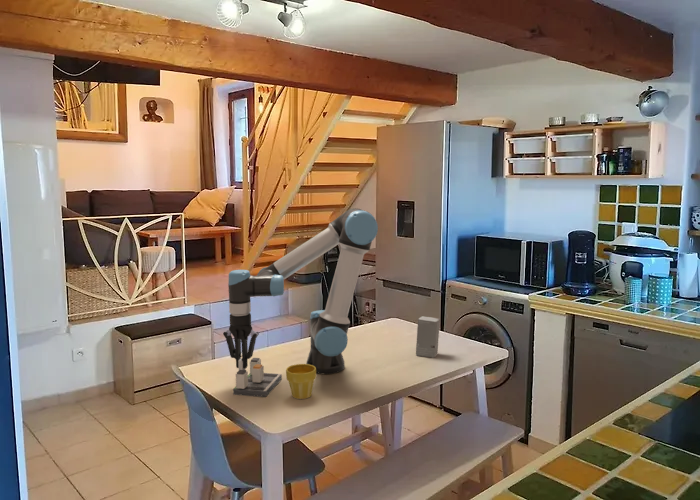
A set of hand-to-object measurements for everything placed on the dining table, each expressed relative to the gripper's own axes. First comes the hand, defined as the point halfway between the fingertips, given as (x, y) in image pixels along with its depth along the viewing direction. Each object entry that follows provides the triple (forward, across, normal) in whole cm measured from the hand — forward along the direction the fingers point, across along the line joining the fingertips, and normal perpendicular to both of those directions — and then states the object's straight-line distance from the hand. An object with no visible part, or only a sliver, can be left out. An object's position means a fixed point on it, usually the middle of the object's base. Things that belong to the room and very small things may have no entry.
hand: (242, 376), depth 202 cm
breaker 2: (+1, -3, -7) cm, 7 cm away
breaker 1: (+1, -3, +6) cm, 7 cm away
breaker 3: (+1, -6, 0) cm, 6 cm away
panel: (+3, -6, 0) cm, 7 cm away
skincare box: (+4, -64, -48) cm, 80 cm away
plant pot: (+4, -24, +5) cm, 24 cm away
